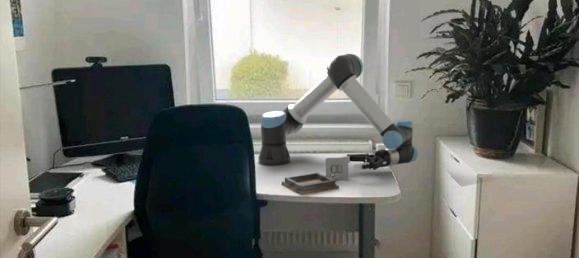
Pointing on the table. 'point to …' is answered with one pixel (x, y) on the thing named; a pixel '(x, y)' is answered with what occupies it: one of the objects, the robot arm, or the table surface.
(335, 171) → the electrical switch
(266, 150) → the robot arm
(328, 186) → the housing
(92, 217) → the table surface
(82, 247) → the table surface
